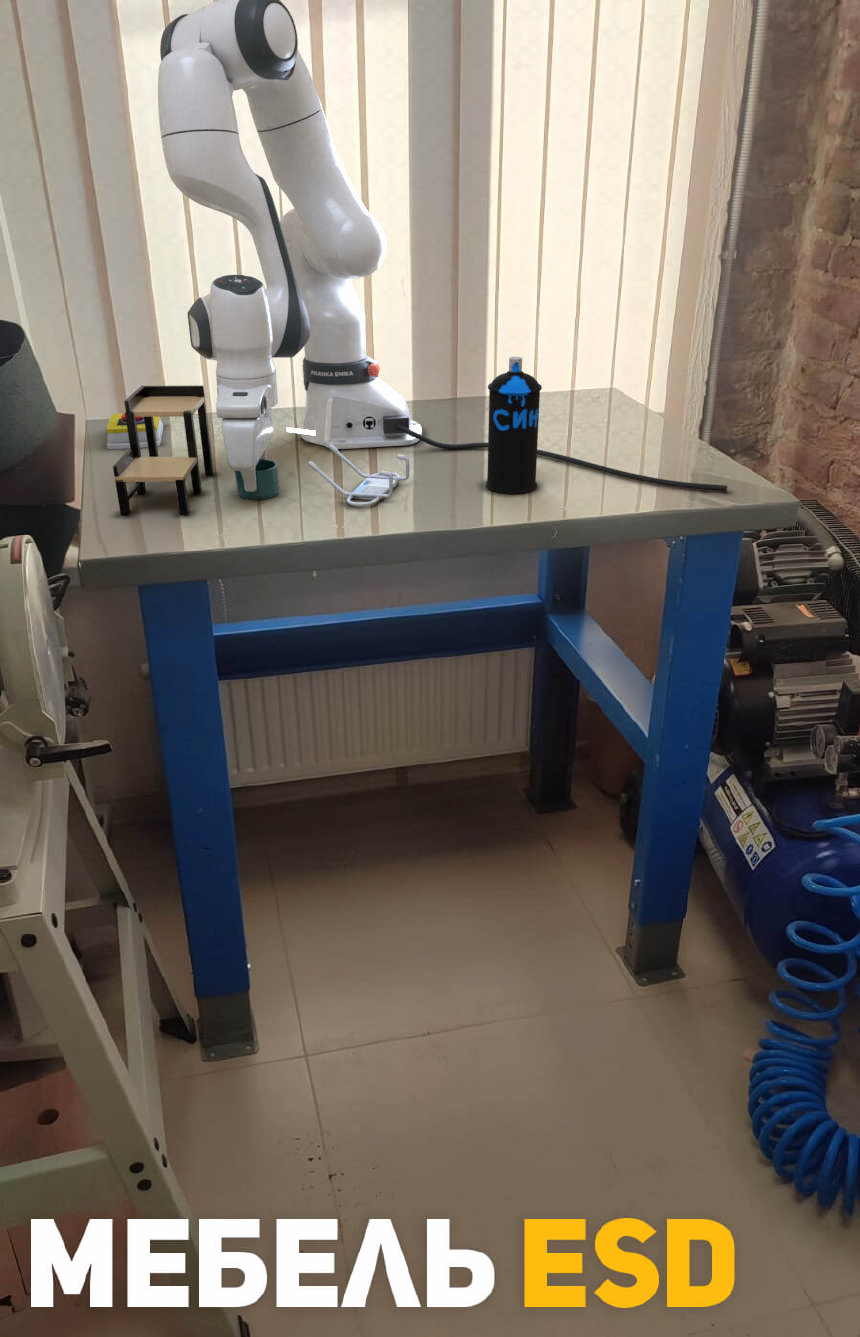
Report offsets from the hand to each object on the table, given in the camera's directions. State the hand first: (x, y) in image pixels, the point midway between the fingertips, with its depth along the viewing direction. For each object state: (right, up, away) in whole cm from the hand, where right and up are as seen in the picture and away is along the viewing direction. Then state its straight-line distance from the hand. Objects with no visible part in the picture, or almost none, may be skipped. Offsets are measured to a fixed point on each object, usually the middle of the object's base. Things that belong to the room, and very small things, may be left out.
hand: (255, 482), depth 156 cm
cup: (0, -2, +1) cm, 2 cm away
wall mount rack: (+16, -1, +2) cm, 16 cm away
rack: (-14, -2, +1) cm, 14 cm away
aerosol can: (+40, 0, +3) cm, 40 cm away
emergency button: (-28, +14, +30) cm, 43 cm away
